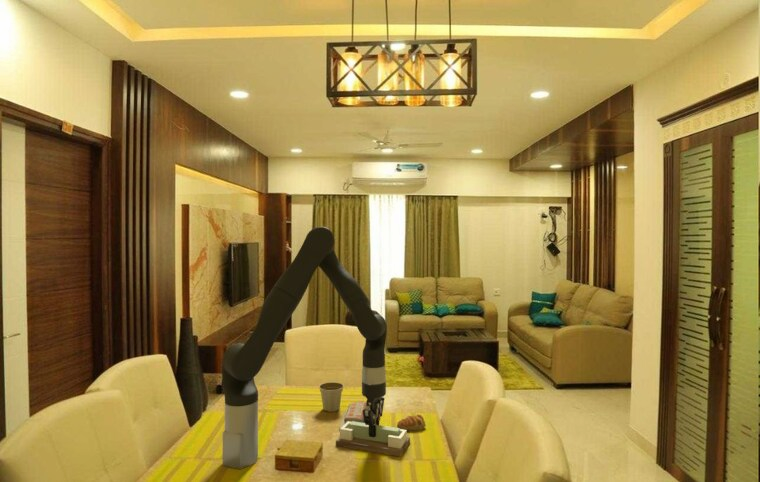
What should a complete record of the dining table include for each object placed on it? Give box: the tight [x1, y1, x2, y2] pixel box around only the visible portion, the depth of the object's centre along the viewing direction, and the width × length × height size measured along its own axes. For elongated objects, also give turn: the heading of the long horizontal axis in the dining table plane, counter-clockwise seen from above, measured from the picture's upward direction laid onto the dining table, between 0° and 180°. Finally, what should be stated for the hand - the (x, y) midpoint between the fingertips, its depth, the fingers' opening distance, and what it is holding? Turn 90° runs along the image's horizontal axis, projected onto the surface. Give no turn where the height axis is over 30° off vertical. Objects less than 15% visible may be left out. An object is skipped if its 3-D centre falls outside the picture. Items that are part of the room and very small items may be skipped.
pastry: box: [396, 414, 427, 432], centre depth 156 cm, size 9×7×4 cm
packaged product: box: [338, 400, 367, 432], centre depth 161 cm, size 18×5×10 cm
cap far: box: [339, 421, 353, 440], centre depth 146 cm, size 6×4×3 cm, turn 160°
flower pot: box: [318, 381, 345, 413], centre depth 172 cm, size 9×9×9 cm
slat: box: [349, 421, 400, 443], centre depth 143 cm, size 2×16×4 cm, turn 70°
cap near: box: [388, 429, 408, 449], centre depth 140 cm, size 6×4×3 cm, turn 160°
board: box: [335, 436, 411, 457], centre depth 143 cm, size 10×21×2 cm, turn 70°
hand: (374, 434), depth 143 cm, fingers closed on slat, 2 cm apart
